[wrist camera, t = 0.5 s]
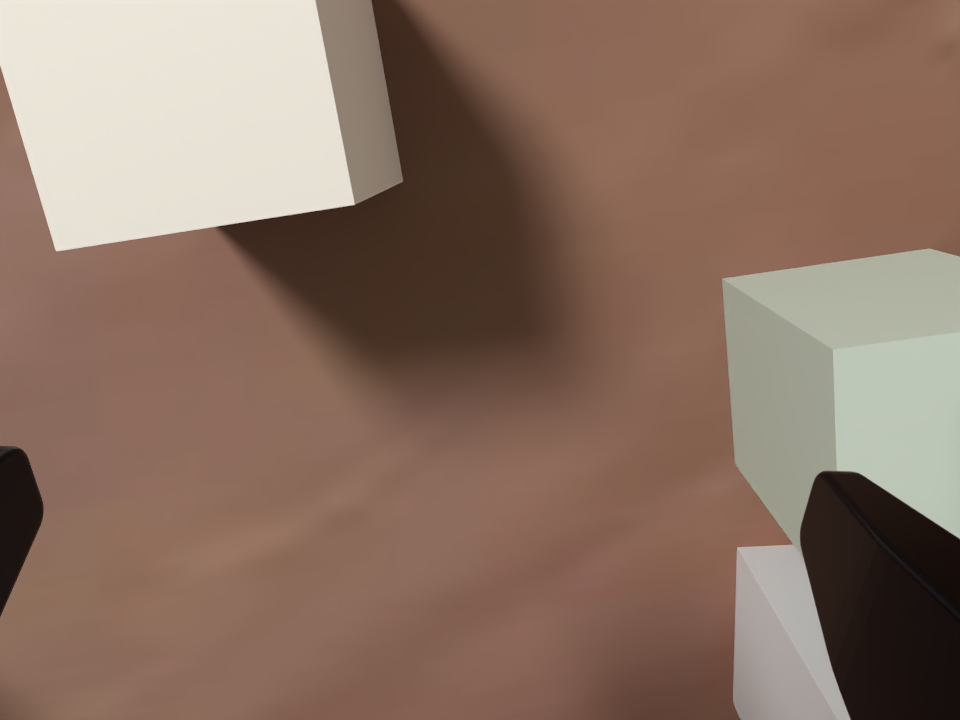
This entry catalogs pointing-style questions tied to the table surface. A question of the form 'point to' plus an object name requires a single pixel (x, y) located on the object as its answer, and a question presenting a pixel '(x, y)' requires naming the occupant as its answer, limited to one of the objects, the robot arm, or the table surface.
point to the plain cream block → (196, 111)
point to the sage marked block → (848, 380)
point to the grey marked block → (780, 641)
